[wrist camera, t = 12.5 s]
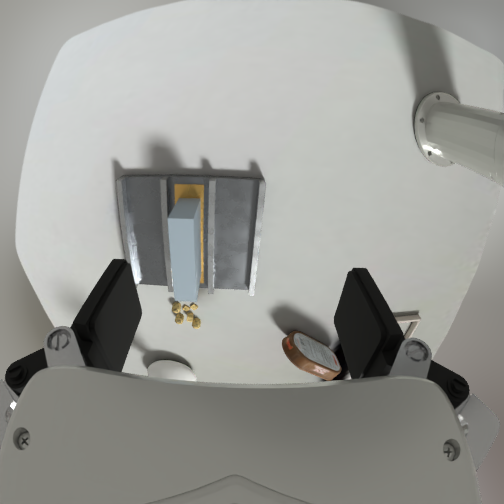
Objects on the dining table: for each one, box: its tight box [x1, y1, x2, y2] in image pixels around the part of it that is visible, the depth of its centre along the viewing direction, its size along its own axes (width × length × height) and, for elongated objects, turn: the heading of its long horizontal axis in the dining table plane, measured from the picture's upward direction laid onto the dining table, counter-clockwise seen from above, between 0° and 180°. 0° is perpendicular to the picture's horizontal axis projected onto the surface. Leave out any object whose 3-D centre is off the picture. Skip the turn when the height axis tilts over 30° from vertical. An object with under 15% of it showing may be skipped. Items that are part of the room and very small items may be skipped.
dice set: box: [172, 302, 201, 329], centre depth 47 cm, size 5×5×2 cm
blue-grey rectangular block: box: [168, 198, 202, 302], centre depth 36 cm, size 3×12×7 cm, turn 175°
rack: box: [116, 175, 266, 296], centre depth 39 cm, size 20×18×2 cm
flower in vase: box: [147, 360, 196, 381], centre depth 46 cm, size 13×11×25 cm
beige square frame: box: [395, 315, 421, 339], centre depth 54 cm, size 12×12×2 cm
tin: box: [282, 331, 341, 380], centre depth 50 cm, size 15×3×8 cm, turn 51°
